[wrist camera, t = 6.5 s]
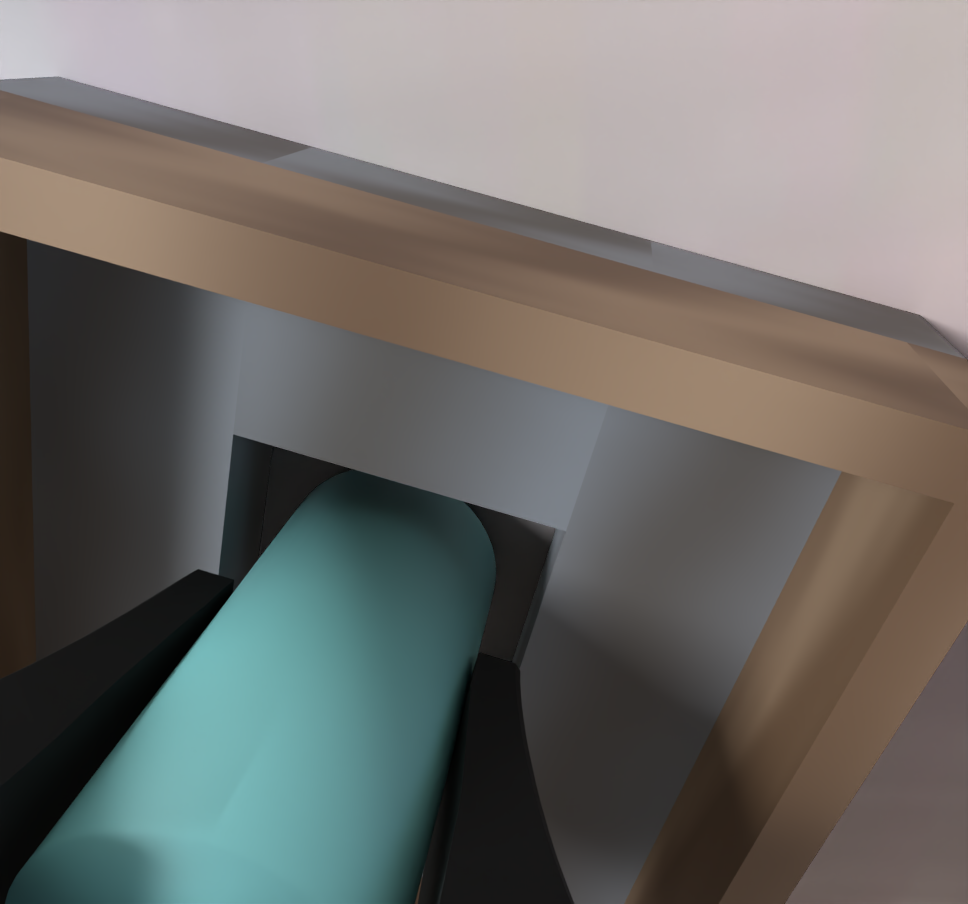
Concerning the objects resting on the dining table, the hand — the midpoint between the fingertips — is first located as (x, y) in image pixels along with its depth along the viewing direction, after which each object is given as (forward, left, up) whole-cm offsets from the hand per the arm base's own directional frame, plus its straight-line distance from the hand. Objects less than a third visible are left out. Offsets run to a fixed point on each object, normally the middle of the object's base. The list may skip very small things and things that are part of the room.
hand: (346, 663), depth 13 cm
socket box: (0, 0, -3) cm, 3 cm away
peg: (0, 0, -3) cm, 3 cm away
